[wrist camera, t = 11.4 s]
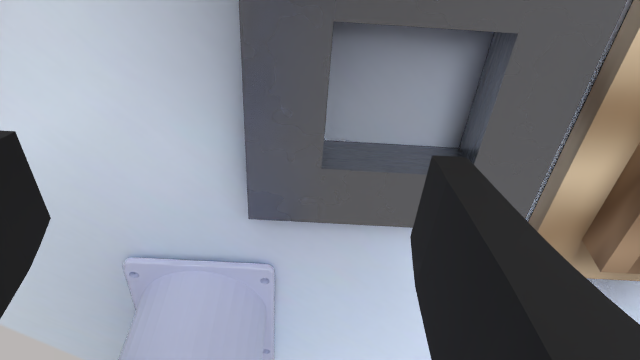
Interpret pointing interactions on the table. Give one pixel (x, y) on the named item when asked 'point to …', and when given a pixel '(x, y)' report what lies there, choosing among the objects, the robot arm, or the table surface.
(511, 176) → the socket
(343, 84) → the table surface
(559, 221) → the rack board
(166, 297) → the robot arm
